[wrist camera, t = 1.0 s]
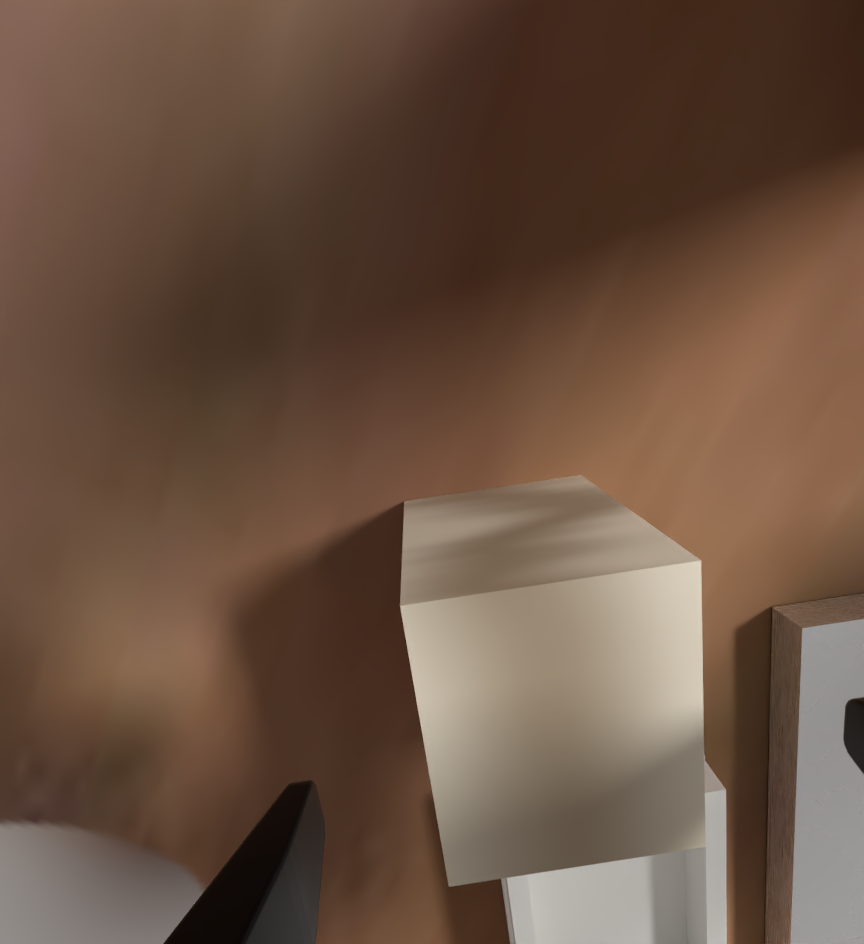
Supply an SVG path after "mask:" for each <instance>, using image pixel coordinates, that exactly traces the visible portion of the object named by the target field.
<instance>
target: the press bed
mask: <svg viewBox="0 0 864 944" xmlns="http://www.w3.org/2000/svg"><path fill="white" fill-rule="evenodd" d="M860 697H864V593H862V594H855V595H849V596H842V597H835V598H829V599H822V600H815V601H809V602H802V603H796V604H789V605H782V606H776V607H772V637H771V683H770V730H769V777H768V824H767V871H766V918H765V944H864V774H863V773H862V772H861V770H860V769H859V768H858V766H857V765H856V764H855V762H854V761H853V760H852V759H851V757H850V756H849V754H848V752H847V750H846V748H845V745H844V741H843V733H844V717H845V705H846V703H847V702H848V700H850V699H853V698H860Z"/></svg>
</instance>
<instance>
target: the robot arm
mask: <svg viewBox="0 0 864 944" xmlns="http://www.w3.org/2000/svg"><path fill="white" fill-rule="evenodd" d="M843 741H844V745H845V748H846V750H847V752H848V754H849V756H850V757H851V759H852V760H853V761H854V762H855V764H856V765H857V766H858V768H859V769H860V770H861V772H862V773H863V774H864V697H860V698H853V699H850V700H848V702H847V703H846V705H845V717H844V733H843ZM324 838H325V823H324V817H323V813H322V808H321V804H320V800H319V796H318V792H317V788H316V785H315V783H314V782H313V781H311V780H308V781H302V782H295V783H291V784H289V785H288V786H287V787H286V788H285V789H284V790H283V792H282V793H281V794H280V795H279V797H278V798H277V799H276V801H275V802H274V803H273V804H272V806H271V807H270V808H269V809H268V811H267V812H266V813H265V815H264V816H263V817H262V818H261V820H260V821H259V822H258V823H257V825H256V826H255V827H254V829H253V830H252V831H251V832H250V834H249V835H248V836H247V838H246V839H245V840H244V841H243V843H242V844H241V845H240V846H239V848H238V849H237V850H236V852H235V853H234V854H233V855H232V857H231V858H230V859H229V861H228V862H227V863H226V864H225V866H224V867H223V868H222V869H221V871H220V872H219V873H218V875H217V876H216V877H215V878H214V880H213V881H212V882H211V884H210V885H209V886H208V887H207V889H206V890H205V891H204V892H203V894H202V895H201V896H200V898H199V899H198V900H197V901H196V903H195V904H194V905H193V907H192V908H191V909H190V910H189V912H188V913H187V914H186V915H185V917H184V918H183V919H182V921H181V922H180V923H179V925H178V926H177V927H176V928H175V929H174V931H173V932H172V933H171V935H170V936H169V937H168V938H167V940H166V941H165V942H164V944H315V942H316V932H317V921H318V910H319V898H320V886H321V874H322V862H323V850H324Z"/></svg>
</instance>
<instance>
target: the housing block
mask: <svg viewBox="0 0 864 944" xmlns="http://www.w3.org/2000/svg"><path fill="white" fill-rule="evenodd" d="M400 609H401V614H402V620H403V626H404V632H405V637H406V643H407V649H408V655H409V661H410V666H411V672H412V678H413V684H414V689H415V695H416V701H417V707H418V712H419V718H420V724H421V730H422V735H423V741H424V747H425V753H426V758H427V764H428V770H429V776H430V781H431V787H432V793H433V799H434V804H435V810H436V816H437V822H438V827H439V833H440V839H441V845H442V850H443V856H444V862H445V868H446V873H447V879H448V885H449V887H451V886H458V885H464V884H471V883H477V882H484V881H490V880H496V879H503V878H509V877H516V876H522V875H529V874H535V873H541V872H548V871H554V870H561V869H567V868H574V867H580V866H586V865H593V864H599V863H606V862H612V861H619V860H625V859H631V858H638V857H644V856H651V855H657V854H664V853H670V852H677V851H683V850H689V849H696V848H702V847H705V783H704V718H703V652H702V587H701V560H700V559H698V558H697V557H696V556H694V555H693V554H691V553H690V552H688V551H687V550H686V549H684V548H683V547H681V546H680V545H679V544H677V543H676V542H674V541H673V540H672V539H670V538H669V537H667V536H666V535H665V534H663V533H662V532H660V531H659V530H658V529H656V528H655V527H653V526H652V525H651V524H649V523H648V522H646V521H645V520H644V519H642V518H641V517H639V516H638V515H637V514H635V513H634V512H632V511H631V510H629V509H628V508H627V507H625V506H624V505H622V504H621V503H620V502H618V501H617V500H615V499H614V498H613V497H611V496H610V495H608V494H607V493H606V492H604V491H603V490H601V489H600V488H599V487H597V486H596V485H594V484H593V483H592V482H590V481H589V480H587V479H586V478H585V477H583V476H582V475H577V476H570V477H564V478H557V479H550V480H543V481H537V482H530V483H523V484H516V485H510V486H503V487H496V488H489V489H483V490H476V491H469V492H463V493H456V494H449V495H442V496H436V497H429V498H422V499H415V500H409V501H404V520H403V545H402V569H401V594H400Z"/></svg>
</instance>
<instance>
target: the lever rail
mask: <svg viewBox="0 0 864 944" xmlns="http://www.w3.org/2000/svg"><path fill="white" fill-rule="evenodd" d="M704 783H705V847H702V848H696V849H689V850H683V851H677V852H670V853H664V854H657V855H651V856H644V857H638V858H631V859H625V860H619V861H612V862H606V863H599V864H593V865H586V866H580V867H574V868H567V869H561V870H554V871H548V872H541V873H535V874H529V875H522V876H516V877H509V878H503V879H501V883H502V890H503V897H504V904H505V911H506V918H507V926H508V933H509V940H510V944H727V924H726V789H725V788H724V786H723V785H722V783H721V782H720V781H719V779H718V778H717V776H716V775H715V774H714V772H713V771H712V770H711V768H710V767H709V765H708V764H707V763H706V761H705V755H704Z"/></svg>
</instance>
